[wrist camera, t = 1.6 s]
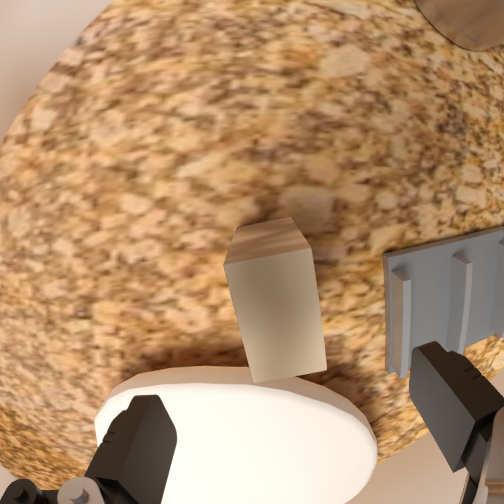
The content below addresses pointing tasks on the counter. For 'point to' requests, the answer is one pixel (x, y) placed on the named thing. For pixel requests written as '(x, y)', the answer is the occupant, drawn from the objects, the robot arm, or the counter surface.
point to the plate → (253, 437)
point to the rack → (443, 295)
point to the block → (276, 300)
